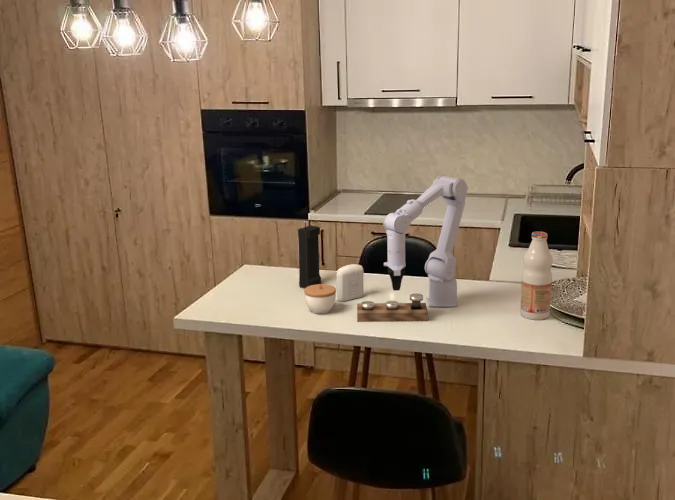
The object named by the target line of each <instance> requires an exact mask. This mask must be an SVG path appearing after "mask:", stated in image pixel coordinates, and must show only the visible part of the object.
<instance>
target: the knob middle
mask: <svg viewBox="0 0 675 500" xmlns="http://www.w3.org/2000/svg"><path fill="white" fill-rule="evenodd" d="M384 303H385V307H386V308H388V310H396V308H398V307H399V303H400V302H398V301H397V300H387V301H385V302H384Z"/></svg>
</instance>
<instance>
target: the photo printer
mask: <svg viewBox="0 0 675 500" xmlns="http://www.w3.org/2000/svg"><path fill="white" fill-rule="evenodd" d="M364 286H365V285H364V268H363V266H362V265H361V264H355V263H351V264H347V265H344V266H341V267H340V268H338V269H337V270H336V299H337V301H338V302H346V301H350V300H355V299H359V298H363V297H364V289H365V288H364Z"/></svg>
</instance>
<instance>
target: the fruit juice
mask: <svg viewBox="0 0 675 500" xmlns="http://www.w3.org/2000/svg"><path fill="white" fill-rule="evenodd" d="M548 237H549V236H548V233H547V232H545V231H533V232H532V233H531V239H532V240H531V242H530V245H529V246H528V249H527V251H526V252H525V254H524V256H523V265H524V269H523V271H522V275H521V289H520V290H521V291H520V309H519V312H520V315H521V316H522V317H523V318H524V319H525V318H526V319H528V320H534V321H541V320H546V319H548V318H549V317H550V313H551V299H552V283H553V273H552V266H553V261H554V259H553V255H552V254H551V252H550V249H549V246H548V241H547V240H548Z"/></svg>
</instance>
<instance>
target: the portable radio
mask: <svg viewBox="0 0 675 500" xmlns="http://www.w3.org/2000/svg"><path fill="white" fill-rule="evenodd" d="M320 234H321V227H320V226H317V225H311V224H310V225H307V223H306V222H304V227H301V228H298V243H299V244H298V245H299V247H298V250H299V259H298V263H299V264H298V265H299V268H298V269H299V270H298V271H299V273H298V274H299V276H298V277H299V278H298V287H299V288H301V289H305V288H306V287H308V286H311V285H316V284H322V277H321V275H320V253H319V252H320V251H319V250H320V249H319V248H320V246H319V243H320V241H319V235H320Z"/></svg>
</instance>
